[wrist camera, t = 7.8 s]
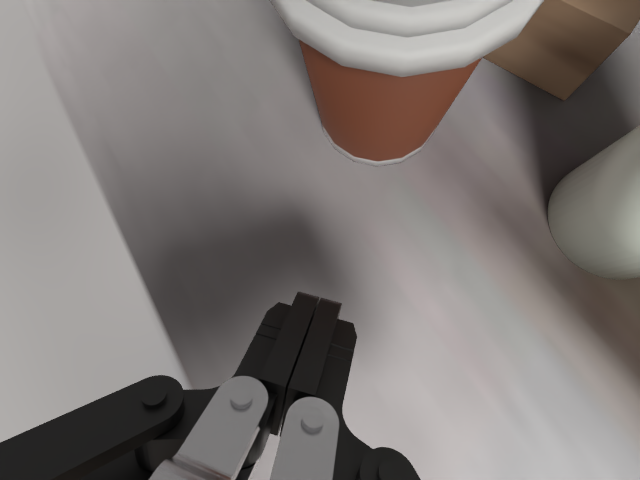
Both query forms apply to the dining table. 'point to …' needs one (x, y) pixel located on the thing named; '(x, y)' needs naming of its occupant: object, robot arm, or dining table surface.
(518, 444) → the dining table surface
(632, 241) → the canister
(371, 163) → the coffee cup
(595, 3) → the walnut block
